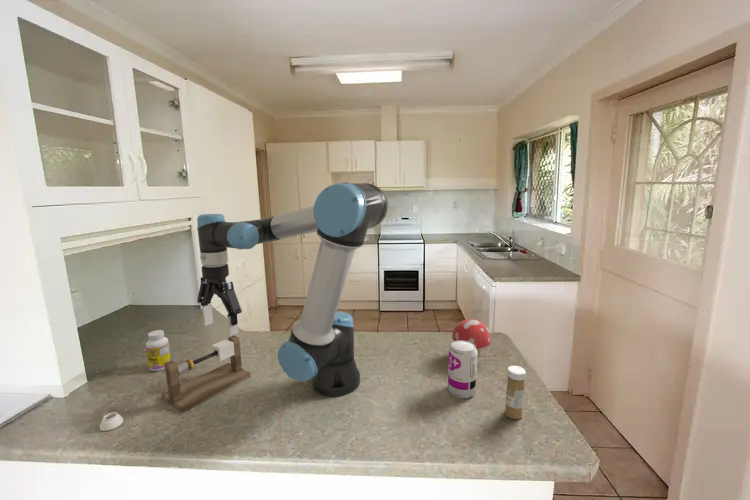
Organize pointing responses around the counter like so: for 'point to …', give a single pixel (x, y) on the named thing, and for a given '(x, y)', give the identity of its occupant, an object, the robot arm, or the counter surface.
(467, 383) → the supplement can
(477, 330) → the decorative mushroom
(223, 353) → the sleeve
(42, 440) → the counter surface
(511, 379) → the sprinkles bottle
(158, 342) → the supplement bottle
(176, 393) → the brown stand with rod
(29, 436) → the counter surface
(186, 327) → the counter surface
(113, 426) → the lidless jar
